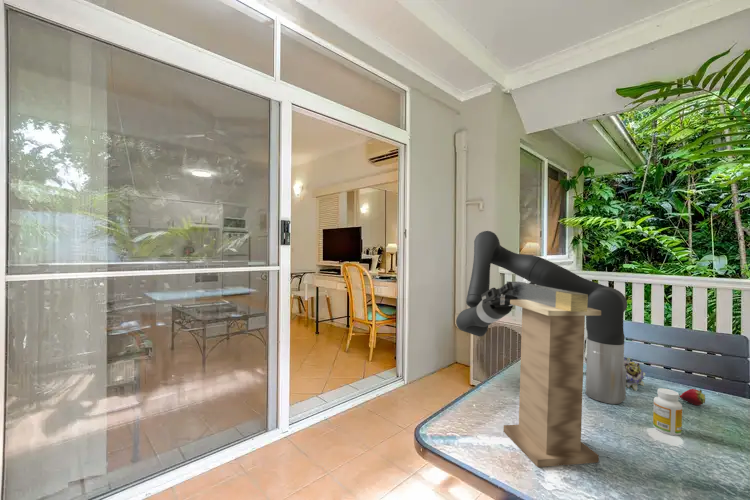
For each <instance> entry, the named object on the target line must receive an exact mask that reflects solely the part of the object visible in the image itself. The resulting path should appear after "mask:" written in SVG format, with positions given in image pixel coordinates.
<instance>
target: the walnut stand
mask: <svg viewBox="0 0 750 500" xmlns="http://www.w3.org/2000/svg"><path fill="white" fill-rule="evenodd" d="M510 304H513V306H517V307H519V308H521V309H522V310H521V336H520V337H521V338H520V339H521V341H520V343H521V344H520V373H519V375H520V376H519V403H518V405H519V406H518V407H519V409H518V424H507V425H504V424H503V433H504V434H505V435H506V436H507V437H508V438H509V439H510V440H511V441H512V442H513V443H514V444H515V445H516V446H517V448H519V450H520V451H521V452H522V453H523V454H524V455H525V456H526V457H527V458H528V459H529V460H530V461H531V462H532V463H533V464H534V466H536V467H537V468H544V467H555V466H557V467H559V466H568V465H569V466H571V465H581V464H582V465H583V464H593V463H599V462H600V460H599V459H600V456H599V454H598V453H597V452H595V451H594V450H593V449H592V448H590V447H589V446H587V445H586V444H585V443H584V442H582V423H583V422H582V420H583V416H582V414H583V413H582V412H583V392H584V391H583V388H584V386H583V383H584V357H585V356H584V353H585V351H584V350H585V328H586V316H599V315H601V310H596V309H592V308H588V307H587V312H570V311H566V310H562V309H559V308H555V307H552V306H548V305H544V304H541V303H537V302H533V301H529V300H510Z"/></svg>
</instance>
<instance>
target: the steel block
mask: <svg viewBox="0 0 750 500" xmlns="http://www.w3.org/2000/svg"><path fill="white" fill-rule="evenodd" d="M508 282H510V281H506V283H508ZM511 282H512V285H513V290H512V291H511V292H509V293H508V294H507V295H511V296H515V297H518V298H522V299H526V300H529V301H533V302H537V303H541V304H544V305H548V306H552V307H555V308H559V309H562V310H566V311H570V312H587V301H588V294H583V293H577V292H572V291H566V290H561V289H556V288H550V287H545V286H539V285H536V284H535V285H534V284H529V283H530V282H529V283H527V282H522V281H511Z"/></svg>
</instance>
